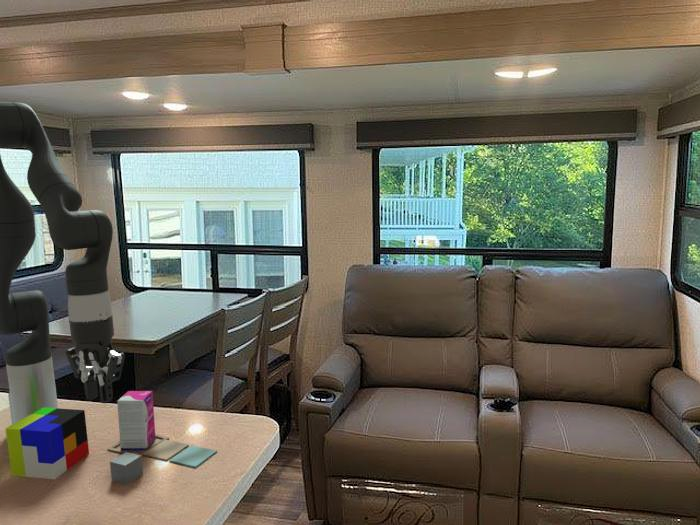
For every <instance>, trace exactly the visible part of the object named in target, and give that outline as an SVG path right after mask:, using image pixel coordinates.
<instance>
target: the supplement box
mask: <svg viewBox="0 0 700 525" xmlns="http://www.w3.org/2000/svg"><path fill="white" fill-rule="evenodd" d="M153 393H154V391H153V390H128V391H126V393H124V394H123V395H122V396H121V397H120V398H119V399H117V400H116V403H117V416H118V417H117V418H118V428H119V430H118V432H119V442H120V445H119V446H120V450H123V451H127V452H130V451H145V450H146V449H148V448H149V447H150V445H151V444H152V443H153V441H154V440H155V439H156V437H155V434H156V426H155V425H156V424H155V412H154V411H155V409H154V394H153Z"/></svg>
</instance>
